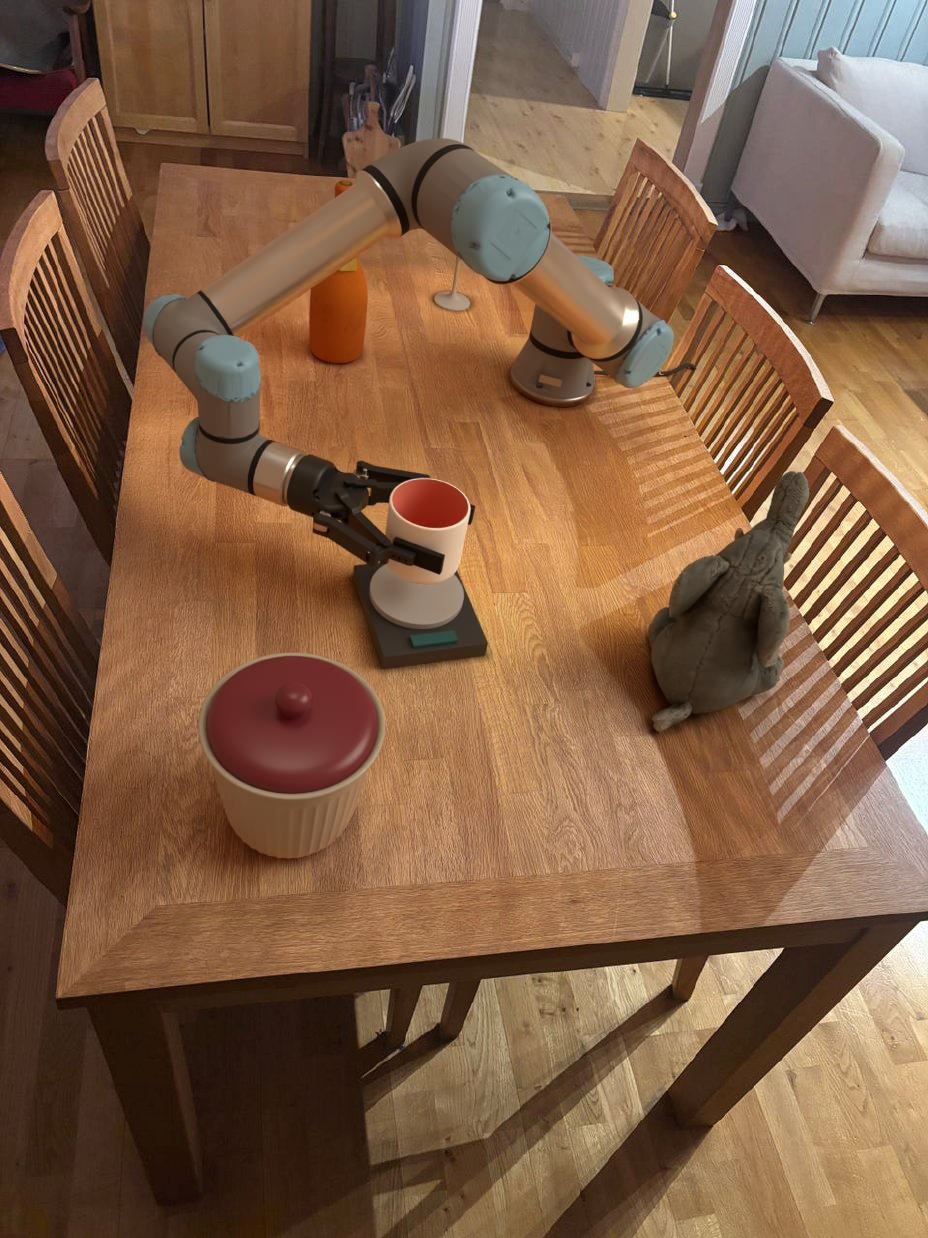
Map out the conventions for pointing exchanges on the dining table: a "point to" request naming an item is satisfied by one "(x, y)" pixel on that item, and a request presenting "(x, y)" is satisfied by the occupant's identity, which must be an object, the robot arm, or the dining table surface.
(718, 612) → the stuffed elephant
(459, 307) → the wineglass
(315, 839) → the canister
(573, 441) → the dining table surface
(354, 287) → the wine bottle
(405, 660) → the scale
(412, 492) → the cup
